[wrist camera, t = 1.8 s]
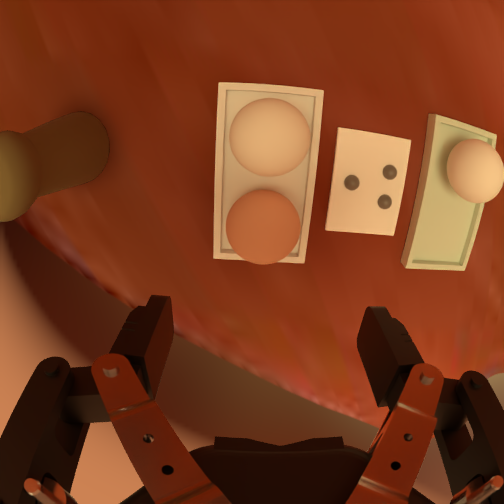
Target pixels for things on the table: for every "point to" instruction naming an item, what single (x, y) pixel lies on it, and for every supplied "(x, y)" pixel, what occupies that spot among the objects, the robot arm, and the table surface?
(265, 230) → the ball
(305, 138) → the ball
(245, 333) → the table surface
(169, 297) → the robot arm
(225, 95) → the egg tray
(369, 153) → the card
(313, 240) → the table surface
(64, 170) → the olive green waisted cylinder
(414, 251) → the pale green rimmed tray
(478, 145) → the ball
